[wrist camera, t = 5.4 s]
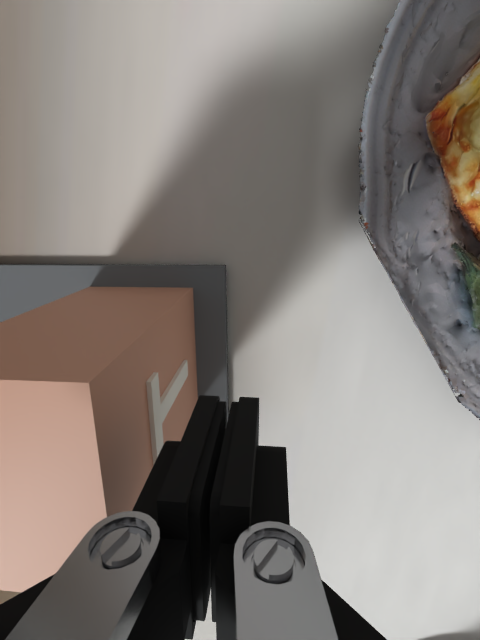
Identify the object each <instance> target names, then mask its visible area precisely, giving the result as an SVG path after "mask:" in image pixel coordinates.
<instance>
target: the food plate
mask: <svg viewBox="0 0 480 640" xmlns="http://www.w3.org/2000/svg"><path fill="white" fill-rule="evenodd" d="M397 8H398V9H396V10H395V13H394V17H393V18H392V19H391V20H390V23H389V24H388V25H387V27H386V29H385V33H386V34H385V36H384V41H383V43H382V44H381V45H380V50H379V51H378V55H377V56H378V57H377V58H376V59H375V61H374V64H373V68H374V72H373V73H372V75H371V77H370V79H369V82H368V86H369V89H366V91H367V95H366V96H365V97H366V100H365V104H364V109H365V110H364V111H363V112H362V113H363V117H362V119H361V121H362V124H361V128H360V129H359V130H360V132H361V136H362V137H361V138H360V140H361V141H360V143H359V144H358V147H359V160H360V161H359V163H360V165H359V167H360V189H361V192H360V205H359V214H360V215H362V217H360V219H361V222H362V223H363V224H364V226H365V228H364V229H365V231H366V232H367V233H368V232H370V234H368V235H369V236H370V238H371V242H373V244H371V242H370V244H371V246H372V248H373V250H374V251H375V253H376V255H377V254H378V255H377V257H378V259H379V260H380V262H381V264H382V266H383V267H384V269H385V270H386V272H387V274H388V276H389V278H390V280H391V281H392V283H393V284H394V286H395V288H396V290H397V291H398V294H399V296H400V298H401V300H402V302H403V304H404V306H405V307H406V309H407V311H408V312H409V314H410V316H411V318H412V320H413V322H414V324H415V325H416V327H417V328H418V330H419V332H420V334H421V335H422V337H423V339H424V341H425V342H426V344H427V346H428V348H429V350H430V351H431V353H432V355H433V357H434V358H435V360H436V362H437V364H438V366H439V368H440V369H441V371H442V373H443V375H444V377H445V375H446V377H445V378H446V380H447V379H448V381H447V382H448V384H449V386H450V388H451V389H455V390H452V391H453V393H454V392H455V393H460V395H459V396H457V397H456V396H455V397H456V399H457V400H458V402H459V403H461V404H462V405H464V406H465V408H468V409H469V411H472V413H473V414H474V415H475V416H476V417H477V418H480V0H400V2H399V3H398V6H397ZM447 73H448V74H447ZM446 74H447V75H446ZM360 153H361V154H360ZM359 223H360V221H359ZM360 225H361V223H360ZM362 228H363V227H362ZM364 229H363V230H364ZM365 231H364V232H365ZM365 234H366V233H365ZM367 238H368V236H367ZM368 240H369V238H368ZM369 241H370V240H369ZM374 247H376V248H374ZM454 395H455V394H454ZM479 420H480V419H479Z"/></svg>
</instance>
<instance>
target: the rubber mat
mask: <svg viewBox="0 0 480 640" xmlns="http://www.w3.org/2000/svg"><path fill="white" fill-rule="evenodd" d="M88 287H173V288H193V300H194V323H195V345H196V368H197V391H198V398H199V396H200V395H207V396H219V397H220V401H225V402H227V422H228V364H227V310H226V265H94V264H0V322H3V321H5V320H8V319H10V318H13V317H15V316H18V315H20V314H23V313H25V312H28V311H30V310H33V309H35V308H38V307H40V306H43V305H45V304H48V303H50V302H53V301H55V300H58V299H60V298H63V297H65V296H68V295H70V294H73V293H75V292H78V291H80V290H83V289H85V288H88Z"/></svg>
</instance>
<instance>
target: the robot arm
mask: <svg viewBox="0 0 480 640" xmlns="http://www.w3.org/2000/svg"><path fill="white" fill-rule="evenodd" d="M258 435H259V398H250V397H240V398H239V402H232V404H231V408H230V413H229V417H228V422H227V402H225V401H220V397H219V396H207V395H200V396H199V398H198V400H197V402H196V405H195V407H194V410H193V412H192V415H191V417H190V420H189V422H188V425H187V427H186V430H185V432H184V434H183V437H182V439H181V441H166V442H165V443H164V445H163V447H162V449H161V451H160V453H159V455H158V457H157V459H156V461H155V463H154V466H153V468H152V470H151V472H150V474H149V476H148V478H147V480H146V482H145V484H144V487H143V489H142V491H141V493H140V495H139V497H138V499H137V501H136V503H135V506H134V508H133V510H132V511H125V512H119V513H116V514H113V515H111V516H108V517H106V518H104V519H103V520H101V521H100V522H98V523H97V524H95V525H94V526H93V527H92V528H91V529H90V530H89V531H88V532H87V533H86V535H85V536H84V537H83V539H82V540H81V541H80V542H79V544H78V545H77V546H76V548H75V549H74V550H73V552H72V553H71V554H70V556H69V557H68V558H67V559H66V561H65V562H64V563H63V565H62V566H61V567H60V569H59V570H58V571H57V572H56V573H55V574H54V575H52V576H50V577H48V578H46V579H45V580H43V581H41V582H39V583H38V584H36V585H34V586H32V587H30V588H29V589H27V590H25V591H23V592H21V593H20V594H18V595H16V596H14V597H13V598H11V599H9V600H7V601H5V602H4V603H2V604H0V640H185V639H193V634H194V629H195V624H196V620H200V621H204V620H205V618H206V613H207V607H208V601H209V595H210V589H211V601H212V622H216V633H217V640H387V639H386V638H384V637H383V636H382V635H381V634H380V633H379V632H378V631H377V630H376V629H375V628H374V627H372V626H371V625H370V624H369V623H368V622H367V621H366V620H365V619H364V618H363V617H362V616H360V615H359V614H358V613H357V612H356V611H355V610H354V609H353V608H352V607H351V606H350V605H349V604H347V603H346V602H345V601H344V600H343V599H342V598H341V597H340V596H339V595H338V594H337V593H335V592H334V591H333V590H332V589H331V588H330V587H329V586H328V585H327V584H326V583H325V582H323V581H322V580H321V577H320V573H319V570H318V566H317V563H316V559H315V556H314V552H313V550H312V548H311V545H310V543H309V541H308V540H307V539H306V538H305V537H304V535H303V534H302V533H301V532H299V531H298V530H296V529H295V528H293V527H292V526H290V524H289V503H288V482H287V461H286V447H273V446H258Z"/></svg>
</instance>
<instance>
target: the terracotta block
mask: <svg viewBox="0 0 480 640" xmlns="http://www.w3.org/2000/svg"><path fill="white" fill-rule="evenodd" d="M197 400H198V391H197V368H196V345H195V323H194V300H193V288H173V287H88V288H85V289H83V290H80V291H78V292H75V293H73V294H70V295H68V296H65V297H63V298H60V299H58V300H55V301H53V302H50V303H48V304H45V305H43V306H40V307H38V308H35V309H33V310H30V311H28V312H25V313H23V314H20V315H18V316H15V317H13V318H10V319H8V320H5V321H3V322H0V590H2V591H13V592H23V591H25V590H27V589H29V588H30V587H32V586H34V585H36V584H38V583H39V582H41V581H43V580H45V579H46V578H48V577H50V576H52V575H54V574H55V573H56V572H57V571H58V570H59V569H60V567H61V566H62V565H63V563H64V562H65V561H66V559H67V558H68V557H69V556H70V554H71V553H72V552H73V550H74V549H75V548H76V546H77V545H78V544H79V542H80V541H81V540H82V539H83V537H84V536H85V535H86V533H87V532H88V531H89V530H90V529H91V528H92V527H93V526H94V525H95V524H97V523H98V522H100V521H101V520H103V519H104V518H106V517H108V516H111V515H113V514H116V513H119V512H125V511H132V510H133V508H134V506H135V503H136V501H137V499H138V497H139V495H140V493H141V491H142V489H143V487H144V484H145V482H146V480H147V478H148V476H149V474H150V472H151V470H152V468H153V466H154V463H155V461H156V459H157V457H158V455H159V453H160V451H161V449H162V447H163V445H164V443H165V442H166V441H181V439H182V437H183V434H184V432H185V430H186V427H187V425H188V422H189V420H190V417H191V415H192V412H193V410H194V407H195V405H196V402H197Z"/></svg>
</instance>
